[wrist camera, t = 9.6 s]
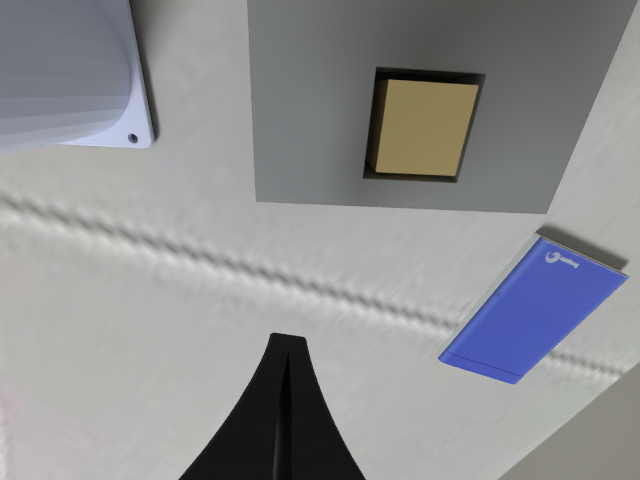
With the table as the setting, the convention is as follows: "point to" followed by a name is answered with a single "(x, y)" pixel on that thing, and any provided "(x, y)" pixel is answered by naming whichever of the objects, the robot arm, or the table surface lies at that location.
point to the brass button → (418, 126)
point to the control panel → (425, 59)
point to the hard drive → (529, 310)
